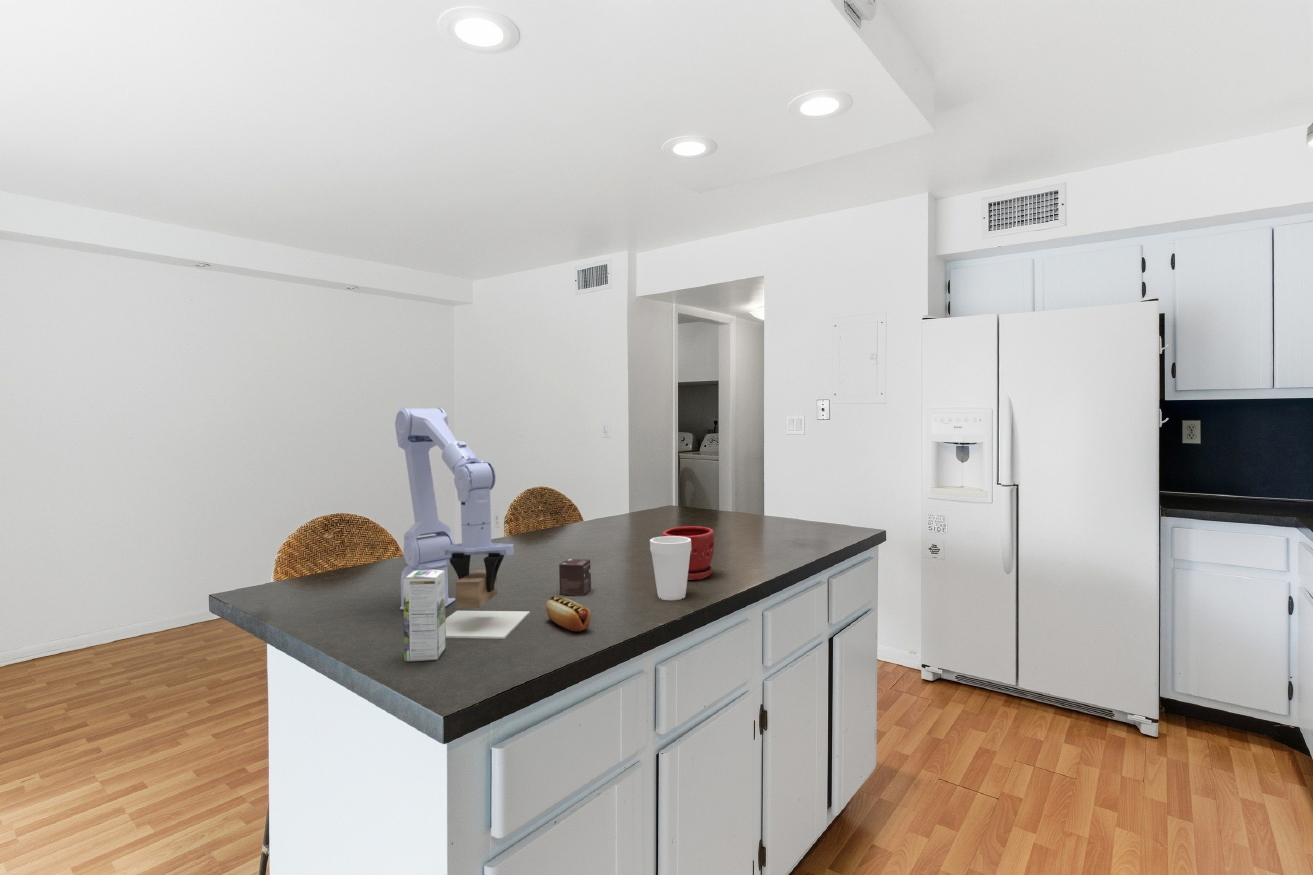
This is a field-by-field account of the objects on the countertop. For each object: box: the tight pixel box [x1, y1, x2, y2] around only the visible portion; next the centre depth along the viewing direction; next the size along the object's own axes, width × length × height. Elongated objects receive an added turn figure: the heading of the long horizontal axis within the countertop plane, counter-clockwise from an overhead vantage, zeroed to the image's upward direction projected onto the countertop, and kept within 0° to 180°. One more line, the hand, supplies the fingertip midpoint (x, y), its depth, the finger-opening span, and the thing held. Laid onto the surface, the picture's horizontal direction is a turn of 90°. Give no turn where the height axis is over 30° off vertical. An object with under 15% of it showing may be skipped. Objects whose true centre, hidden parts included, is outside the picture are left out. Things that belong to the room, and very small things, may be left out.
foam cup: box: [649, 536, 691, 601], centre depth 149 cm, size 10×9×13 cm
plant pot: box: [662, 525, 715, 581], centre depth 167 cm, size 13×13×12 cm
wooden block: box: [455, 569, 498, 609], centre depth 130 cm, size 10×4×5 cm, turn 174°
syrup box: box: [403, 570, 447, 662], centre depth 114 cm, size 6×6×14 cm
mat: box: [445, 610, 531, 640], centre depth 131 cm, size 16×16×1 cm
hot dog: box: [545, 595, 592, 632], centre depth 129 cm, size 5×13×5 cm, turn 36°
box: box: [558, 558, 592, 597], centre depth 154 cm, size 6×6×7 cm
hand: (478, 590), depth 130 cm, fingers closed on wooden block, 4 cm apart
